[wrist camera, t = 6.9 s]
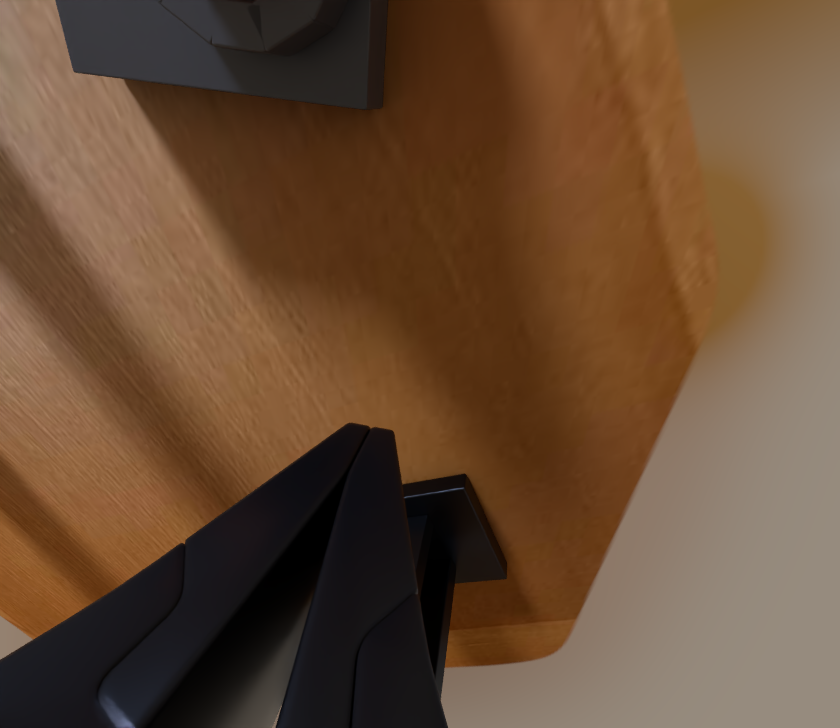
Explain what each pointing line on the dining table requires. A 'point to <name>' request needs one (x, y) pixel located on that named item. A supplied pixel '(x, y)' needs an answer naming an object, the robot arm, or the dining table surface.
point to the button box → (236, 46)
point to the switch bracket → (448, 552)
